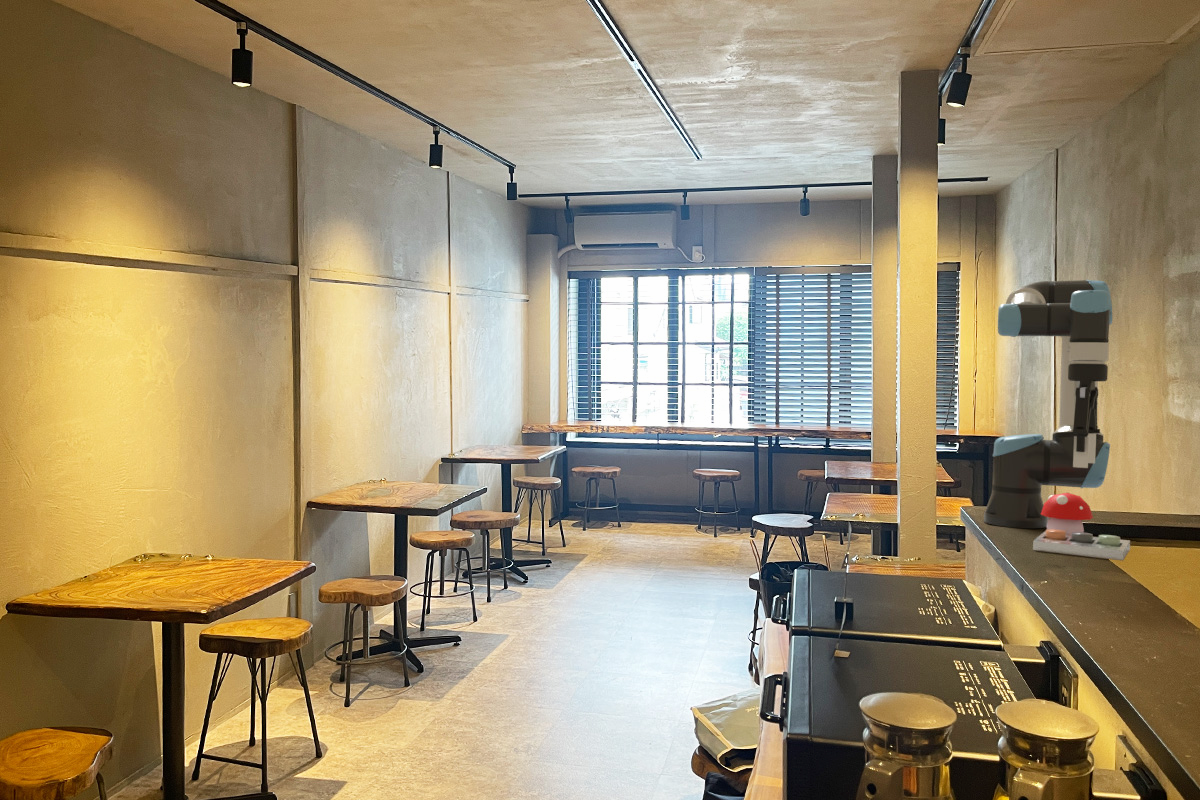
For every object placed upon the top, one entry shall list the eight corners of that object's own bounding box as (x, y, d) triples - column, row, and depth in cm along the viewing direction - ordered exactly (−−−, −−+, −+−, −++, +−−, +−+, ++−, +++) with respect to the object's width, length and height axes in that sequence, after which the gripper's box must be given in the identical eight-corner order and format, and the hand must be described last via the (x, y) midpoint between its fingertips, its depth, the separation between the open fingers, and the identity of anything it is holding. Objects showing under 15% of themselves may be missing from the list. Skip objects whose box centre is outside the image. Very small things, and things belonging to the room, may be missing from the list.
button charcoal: (1072, 541, 204) (1073, 531, 204) (1093, 543, 202) (1093, 533, 202) (1070, 544, 201) (1070, 533, 201) (1091, 546, 199) (1091, 536, 199)
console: (1044, 546, 212) (1044, 531, 212) (1129, 556, 203) (1130, 540, 202) (1032, 556, 201) (1033, 540, 201) (1122, 567, 191) (1123, 550, 191)
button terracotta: (1047, 538, 207) (1047, 528, 207) (1066, 540, 205) (1067, 530, 205) (1043, 541, 204) (1044, 531, 204) (1064, 543, 202) (1064, 533, 202)
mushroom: (1056, 538, 224) (1058, 488, 223) (1101, 545, 214) (1103, 494, 214) (1030, 542, 218) (1032, 491, 217) (1076, 550, 209) (1078, 497, 208)
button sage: (1099, 544, 201) (1100, 534, 201) (1120, 546, 199) (1121, 536, 199) (1097, 547, 198) (1097, 536, 198) (1118, 549, 196) (1119, 539, 196)
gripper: (1076, 362, 212) (1073, 459, 212) (1059, 362, 192) (1056, 468, 193) (1114, 363, 207) (1110, 462, 208) (1100, 362, 188) (1096, 471, 189)
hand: (1084, 465), depth 201 cm, fingers open, 11 cm apart
